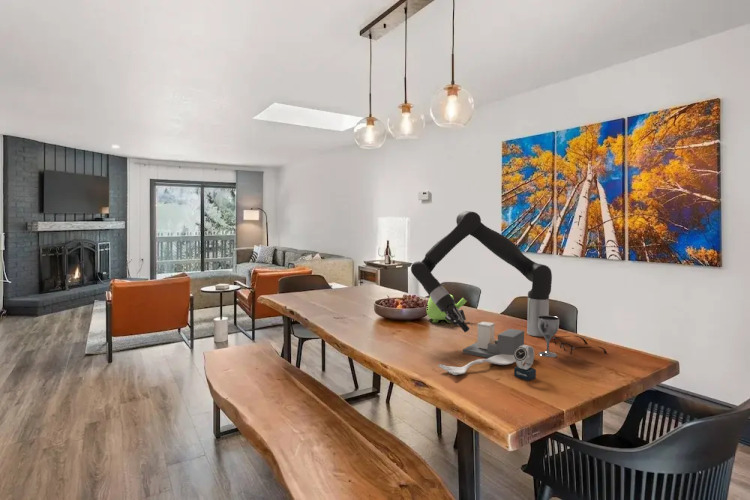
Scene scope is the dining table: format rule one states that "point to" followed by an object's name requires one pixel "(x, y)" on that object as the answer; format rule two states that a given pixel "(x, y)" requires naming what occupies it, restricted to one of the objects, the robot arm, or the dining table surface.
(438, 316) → the teapot
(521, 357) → the watch
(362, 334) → the dining table surface
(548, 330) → the wine glass
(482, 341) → the white rectangular block
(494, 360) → the spoon
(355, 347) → the dining table surface
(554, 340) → the eyeglasses
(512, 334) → the grey block model
